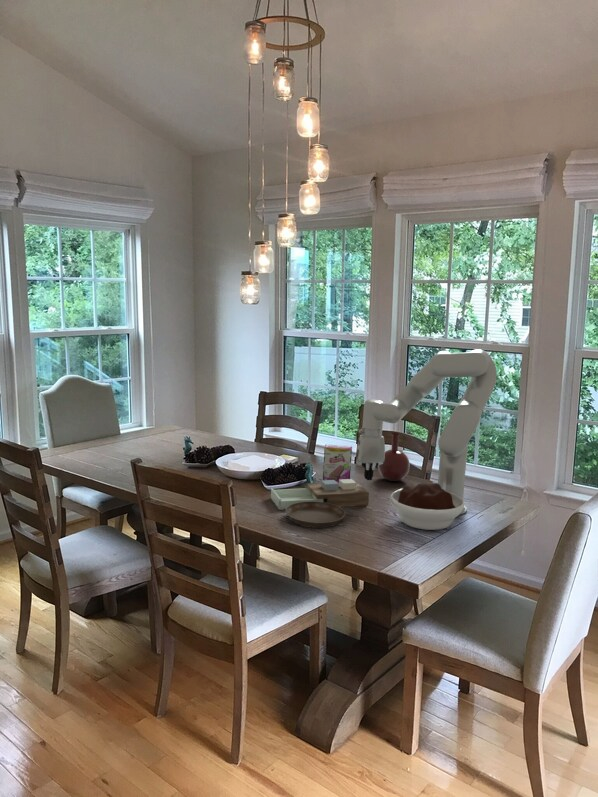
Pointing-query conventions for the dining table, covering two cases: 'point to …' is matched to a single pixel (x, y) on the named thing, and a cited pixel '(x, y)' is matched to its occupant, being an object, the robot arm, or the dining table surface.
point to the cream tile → (347, 484)
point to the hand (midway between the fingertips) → (368, 479)
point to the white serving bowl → (426, 506)
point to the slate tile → (329, 485)
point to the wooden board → (340, 495)
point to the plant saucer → (315, 514)
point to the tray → (292, 497)
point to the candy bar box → (337, 462)
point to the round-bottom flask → (394, 462)
